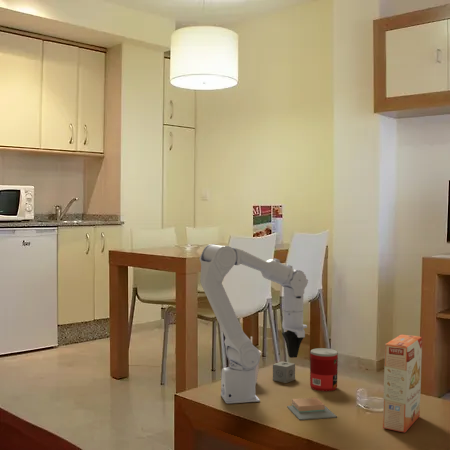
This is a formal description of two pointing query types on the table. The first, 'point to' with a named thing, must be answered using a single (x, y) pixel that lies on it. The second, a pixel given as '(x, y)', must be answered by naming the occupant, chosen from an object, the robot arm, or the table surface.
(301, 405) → the tile
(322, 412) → the mat
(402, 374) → the cracker box
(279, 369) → the dice cube
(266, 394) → the table surface
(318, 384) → the canned food
